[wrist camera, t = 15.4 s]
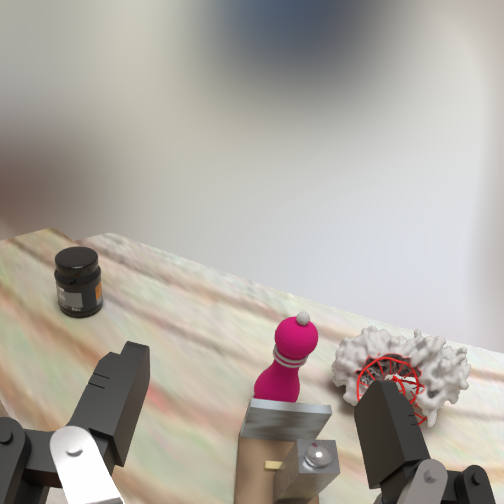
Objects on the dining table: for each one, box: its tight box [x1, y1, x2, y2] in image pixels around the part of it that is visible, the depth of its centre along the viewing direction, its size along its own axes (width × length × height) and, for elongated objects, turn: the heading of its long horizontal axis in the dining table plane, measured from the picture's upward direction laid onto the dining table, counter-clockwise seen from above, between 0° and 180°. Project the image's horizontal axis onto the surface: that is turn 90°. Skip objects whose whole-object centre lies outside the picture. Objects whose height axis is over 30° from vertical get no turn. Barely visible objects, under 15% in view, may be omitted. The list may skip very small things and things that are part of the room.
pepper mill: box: [254, 312, 318, 403], centre depth 44 cm, size 7×7×20 cm
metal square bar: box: [273, 439, 340, 504], centre depth 29 cm, size 4×4×12 cm
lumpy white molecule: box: [332, 326, 471, 428], centre depth 46 cm, size 20×18×25 cm
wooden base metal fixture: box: [234, 398, 332, 504], centre depth 29 cm, size 11×22×10 cm, turn 179°
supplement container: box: [54, 247, 103, 317], centre depth 58 cm, size 10×10×12 cm
